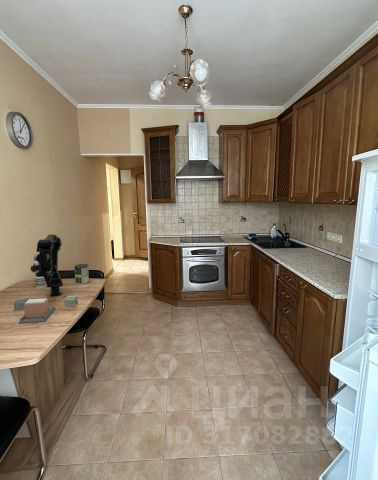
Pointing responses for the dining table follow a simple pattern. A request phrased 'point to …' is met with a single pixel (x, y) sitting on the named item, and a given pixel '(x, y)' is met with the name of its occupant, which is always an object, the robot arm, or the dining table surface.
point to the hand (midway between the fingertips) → (48, 284)
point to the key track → (37, 319)
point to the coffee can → (81, 273)
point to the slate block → (20, 304)
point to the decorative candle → (39, 280)
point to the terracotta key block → (36, 308)
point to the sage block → (70, 301)
